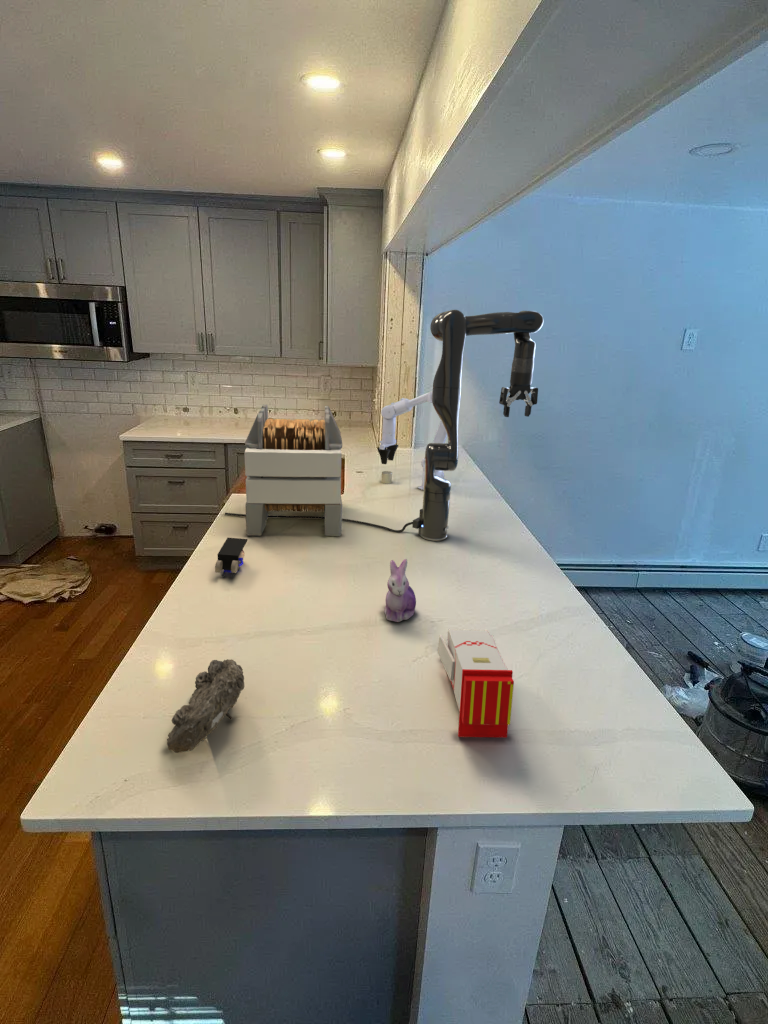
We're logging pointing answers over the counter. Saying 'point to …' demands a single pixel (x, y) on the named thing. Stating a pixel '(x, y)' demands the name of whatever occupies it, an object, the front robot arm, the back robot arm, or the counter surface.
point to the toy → (478, 682)
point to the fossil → (206, 705)
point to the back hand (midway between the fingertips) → (387, 462)
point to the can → (386, 477)
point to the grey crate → (293, 470)
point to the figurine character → (230, 556)
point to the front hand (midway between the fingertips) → (516, 416)
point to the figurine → (399, 594)
